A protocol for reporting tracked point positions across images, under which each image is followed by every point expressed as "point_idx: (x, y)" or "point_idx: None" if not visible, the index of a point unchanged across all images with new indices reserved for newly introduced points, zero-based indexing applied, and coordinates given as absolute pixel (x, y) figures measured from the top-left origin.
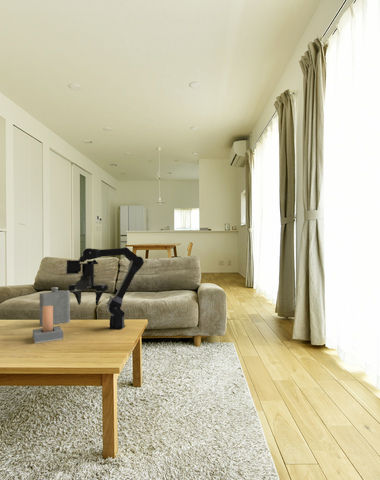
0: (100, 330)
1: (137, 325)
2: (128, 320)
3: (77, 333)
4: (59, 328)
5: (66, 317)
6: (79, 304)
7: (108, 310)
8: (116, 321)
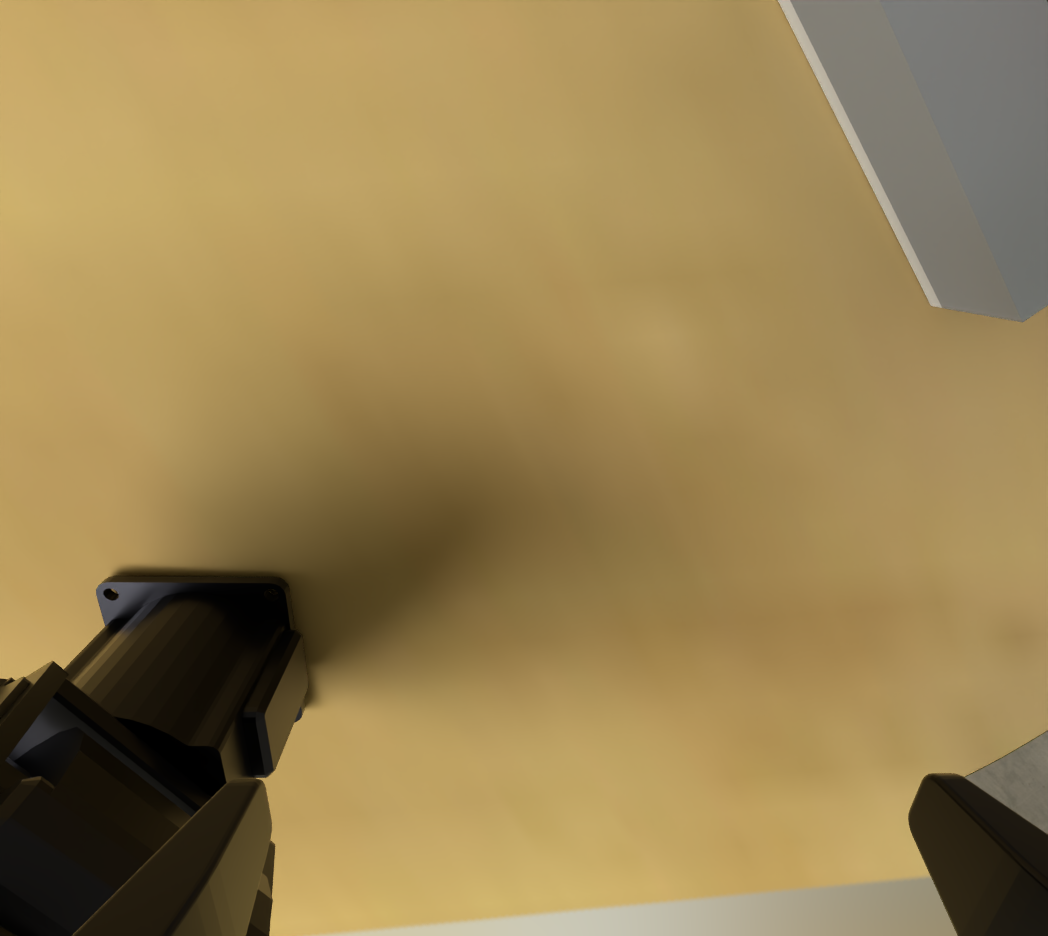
0: (376, 508)
1: None
2: (273, 918)
3: (644, 326)
4: (968, 131)
5: None
6: (926, 787)
7: (160, 817)
8: (118, 657)
